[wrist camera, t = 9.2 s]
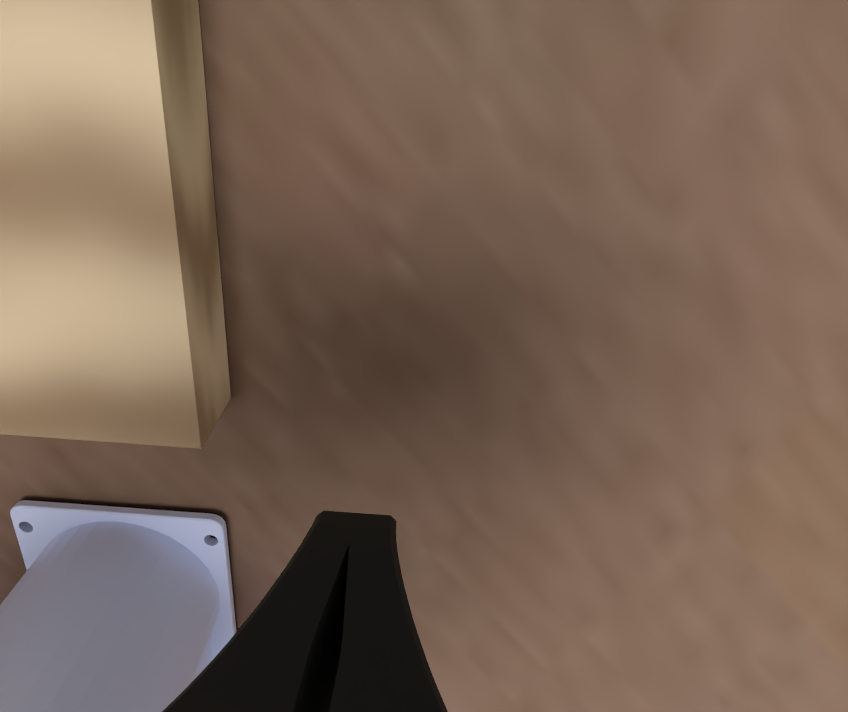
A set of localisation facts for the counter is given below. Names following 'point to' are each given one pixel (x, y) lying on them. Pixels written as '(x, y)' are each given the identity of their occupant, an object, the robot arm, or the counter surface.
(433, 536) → the counter surface
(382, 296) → the counter surface
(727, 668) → the counter surface
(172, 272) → the board
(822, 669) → the counter surface
